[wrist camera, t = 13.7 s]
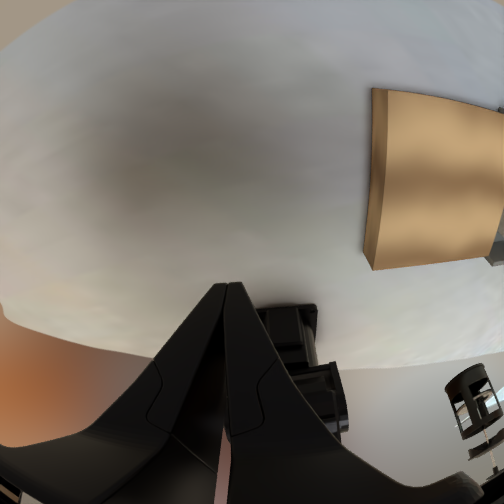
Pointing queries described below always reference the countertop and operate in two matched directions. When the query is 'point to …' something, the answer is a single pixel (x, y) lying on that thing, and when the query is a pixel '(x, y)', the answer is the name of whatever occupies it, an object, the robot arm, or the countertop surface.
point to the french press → (475, 409)
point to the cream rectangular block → (501, 224)
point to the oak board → (432, 180)
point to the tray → (497, 243)
